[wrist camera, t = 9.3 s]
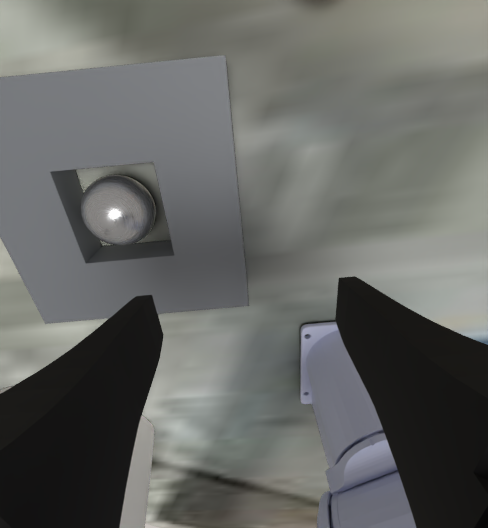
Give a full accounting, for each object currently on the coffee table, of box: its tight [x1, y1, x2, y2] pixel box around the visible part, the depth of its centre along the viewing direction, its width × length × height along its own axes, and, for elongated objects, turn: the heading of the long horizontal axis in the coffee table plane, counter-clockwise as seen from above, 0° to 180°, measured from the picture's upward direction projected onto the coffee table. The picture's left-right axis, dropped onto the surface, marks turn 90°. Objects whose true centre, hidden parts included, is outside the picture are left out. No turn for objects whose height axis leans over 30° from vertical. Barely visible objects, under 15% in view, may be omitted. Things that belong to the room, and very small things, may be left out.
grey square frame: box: [0, 55, 249, 324], centre depth 18 cm, size 14×14×2 cm
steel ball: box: [81, 175, 156, 245], centre depth 17 cm, size 4×4×4 cm
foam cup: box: [119, 416, 155, 528], centre depth 24 cm, size 10×9×13 cm
